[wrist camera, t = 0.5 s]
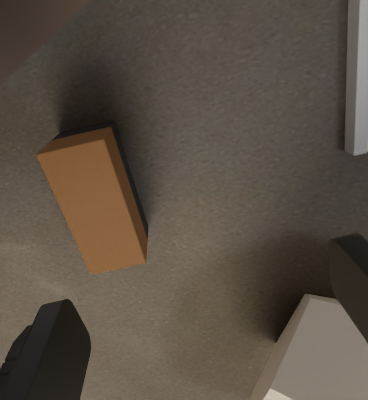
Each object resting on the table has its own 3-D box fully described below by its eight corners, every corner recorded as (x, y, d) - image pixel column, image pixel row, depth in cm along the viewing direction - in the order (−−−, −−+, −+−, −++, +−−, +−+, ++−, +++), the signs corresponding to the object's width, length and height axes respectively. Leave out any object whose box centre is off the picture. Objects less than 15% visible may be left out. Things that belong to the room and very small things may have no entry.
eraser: (101, 239, 26) (90, 275, 22) (58, 133, 22) (35, 154, 18) (148, 228, 26) (146, 263, 22) (114, 120, 21) (103, 138, 17)
